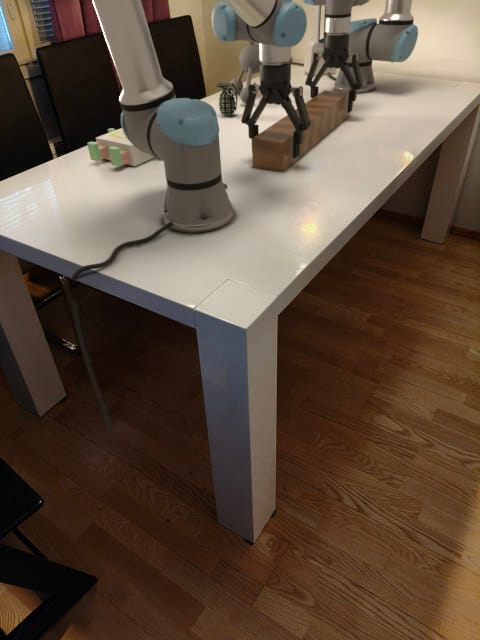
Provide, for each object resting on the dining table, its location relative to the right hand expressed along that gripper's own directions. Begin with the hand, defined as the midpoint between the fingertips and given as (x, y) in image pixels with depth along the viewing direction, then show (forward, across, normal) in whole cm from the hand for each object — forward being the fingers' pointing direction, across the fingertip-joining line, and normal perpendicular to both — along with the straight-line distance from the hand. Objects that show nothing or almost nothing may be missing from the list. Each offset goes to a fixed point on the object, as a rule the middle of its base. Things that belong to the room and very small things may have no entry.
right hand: (332, 110), depth 159 cm
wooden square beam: (+3, 0, +22) cm, 22 cm away
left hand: (0, 0, +44) cm, 44 cm away
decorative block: (+3, +41, +51) cm, 65 cm away
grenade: (+3, +35, +8) cm, 36 cm away
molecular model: (+3, +36, -18) cm, 41 cm away
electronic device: (+3, +28, -62) cm, 68 cm away
